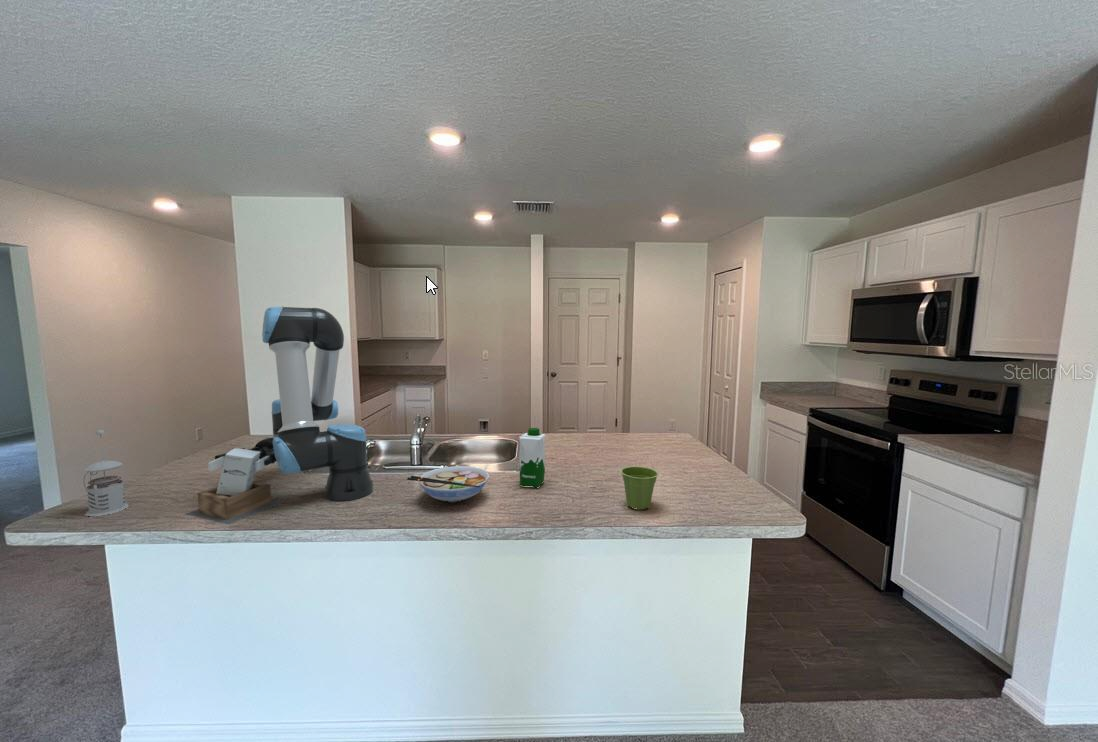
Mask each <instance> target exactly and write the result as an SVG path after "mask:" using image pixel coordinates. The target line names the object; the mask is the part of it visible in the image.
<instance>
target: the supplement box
mask: <svg viewBox="0 0 1098 742" xmlns="http://www.w3.org/2000/svg"><path fill="white" fill-rule="evenodd" d="M226 453H227V454H226V455H225V459H224V463H223V466H222V469H221V471H220V472H221V473H220V476H219V480H218V484H217V487H218V488H217V492H216V494H223V495H231V496H233V495H236V494H239V493H242V492H245V491H248V490H251V488H252V485H253V482H255V480H254V479H255V476H256V472H257V471H256V467H255V462H256V461H258V460H260V459H259V456H260V453H261V452H259V451H252V450H247V449H246V448H245V449H242V448H239V447H234V448H233V449H231V450H229V451H228V452H226Z"/></svg>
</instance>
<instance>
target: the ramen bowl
mask: <svg viewBox="0 0 1098 742" xmlns="http://www.w3.org/2000/svg"><path fill="white" fill-rule="evenodd" d="M489 478H490V474H489V473H488V471H487V470H485V469H483V468H481V467H480V468H479V467H475V466H470V465H469V466H467V465H465V466H464V465H455V466H444V467H440V468H435V469H431V470H429V471H426V472H424V473H423V474H421V476H416V475H410V477H409V476H408V477H407V478H406V479H407V481H414V482H415V481H416V482H418V483H419V485H420V486H421V488H422V489H423V490H424V492H425V493H426V494H427V495H429V497H431V498H434V499H435V500H439V501H443V502H446V501H448V502H447V503H457V502H456V501H459V502H462V501H461V500H463V501H464V500H467V499H470V498H472V497H474V496H476V495H477V494H479V493H480V492H481V490H482V489H483V487H484V486H485V485H486V483H487V481H488V480H489Z"/></svg>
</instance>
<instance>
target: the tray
mask: <svg viewBox="0 0 1098 742" xmlns="http://www.w3.org/2000/svg"><path fill="white" fill-rule="evenodd" d="M217 488H218V486H216V487H214V488H210V489H207V490H203V491H201V492H198V493H197V499H198V500H197V501H198V509H199V513H203V514H207V515H211V516H215V517H220V518H224V519H228V520H229V519H231V518H234V517H236V516H239V515H242V514H244V513H247V512H249V511H252V510H254V509H257V508H259V507H262V506H264V505H267V504H270V503H271V499H272V495H271V484H268V483H264V482H258V481H253V485H252V488H251V490H248V491H245V492H242V493H239V494H236V495H233V496H231V495H223V494H216V492H217Z"/></svg>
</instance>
